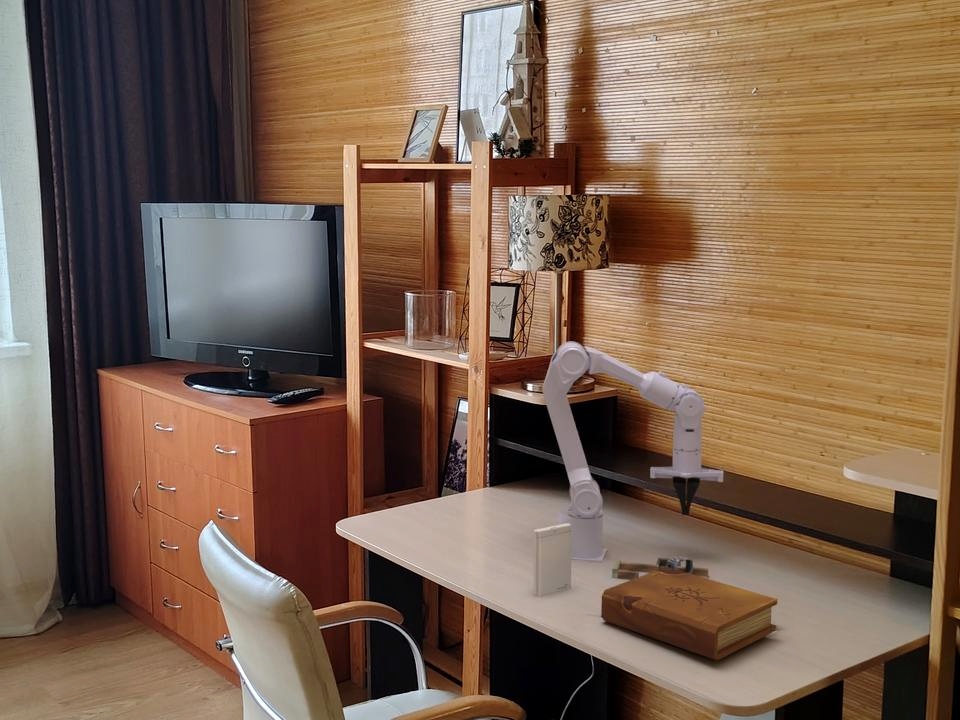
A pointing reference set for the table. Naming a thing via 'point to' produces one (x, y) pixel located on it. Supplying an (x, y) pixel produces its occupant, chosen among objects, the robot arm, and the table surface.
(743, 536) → the table surface
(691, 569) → the wristwatch
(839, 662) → the table surface
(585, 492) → the robot arm
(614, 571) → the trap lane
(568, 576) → the hard drive
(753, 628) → the diary
